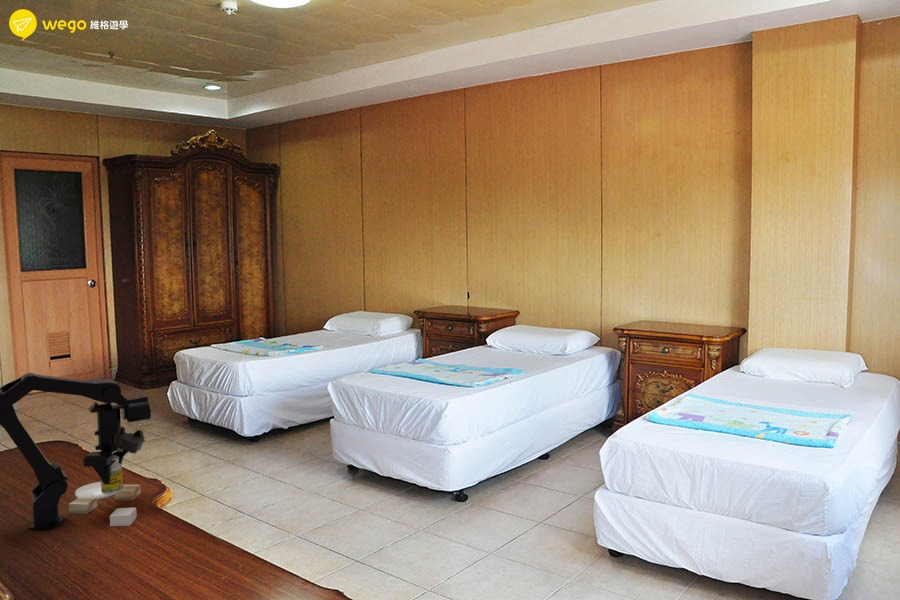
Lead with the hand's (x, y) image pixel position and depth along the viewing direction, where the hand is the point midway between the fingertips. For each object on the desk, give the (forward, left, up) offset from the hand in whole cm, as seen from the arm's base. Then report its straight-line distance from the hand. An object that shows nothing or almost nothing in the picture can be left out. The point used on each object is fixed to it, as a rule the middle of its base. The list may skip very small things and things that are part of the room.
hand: (111, 480), depth 186 cm
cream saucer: (+13, +10, -8) cm, 18 cm away
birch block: (0, +8, -9) cm, 12 cm away
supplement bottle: (0, 0, -3) cm, 3 cm away
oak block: (+9, 0, -9) cm, 13 cm away
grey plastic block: (-8, -6, -9) cm, 13 cm away
